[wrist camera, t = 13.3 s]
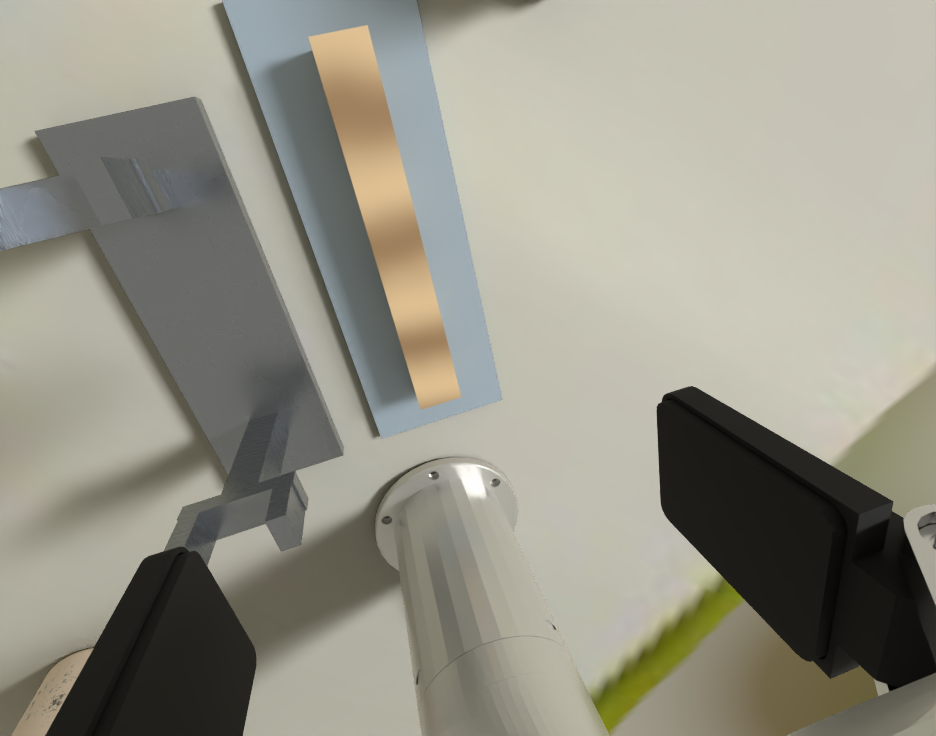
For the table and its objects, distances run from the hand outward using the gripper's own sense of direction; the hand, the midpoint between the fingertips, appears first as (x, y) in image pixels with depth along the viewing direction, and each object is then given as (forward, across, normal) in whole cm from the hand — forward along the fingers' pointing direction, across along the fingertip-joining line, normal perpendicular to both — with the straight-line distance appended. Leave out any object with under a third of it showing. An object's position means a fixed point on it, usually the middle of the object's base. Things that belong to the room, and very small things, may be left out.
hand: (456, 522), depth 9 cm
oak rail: (+23, -2, -3) cm, 23 cm away
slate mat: (+25, -2, -3) cm, 25 cm away
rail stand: (+25, +10, 0) cm, 27 cm away
